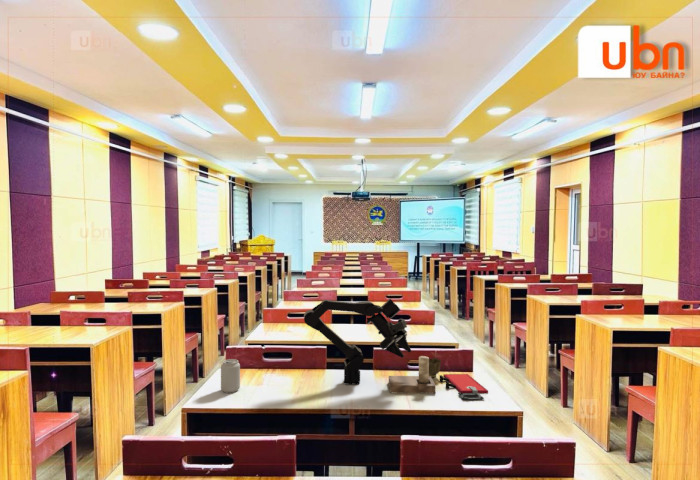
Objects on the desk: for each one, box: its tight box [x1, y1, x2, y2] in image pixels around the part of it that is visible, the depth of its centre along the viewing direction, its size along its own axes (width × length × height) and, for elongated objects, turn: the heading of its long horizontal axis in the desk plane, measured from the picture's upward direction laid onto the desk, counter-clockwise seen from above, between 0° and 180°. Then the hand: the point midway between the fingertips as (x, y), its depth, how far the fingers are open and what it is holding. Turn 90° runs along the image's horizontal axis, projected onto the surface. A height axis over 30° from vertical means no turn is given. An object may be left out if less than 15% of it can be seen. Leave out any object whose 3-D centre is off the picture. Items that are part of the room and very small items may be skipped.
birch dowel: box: [418, 355, 430, 384], centre depth 182 cm, size 4×4×13 cm
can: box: [220, 358, 241, 394], centre depth 179 cm, size 8×8×12 cm
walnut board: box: [388, 375, 436, 394], centre depth 184 cm, size 18×12×3 cm, turn 89°
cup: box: [429, 357, 442, 379], centre depth 197 cm, size 8×7×8 cm
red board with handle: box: [439, 373, 489, 400], centre depth 185 cm, size 30×3×15 cm
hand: (406, 354), depth 185 cm, fingers open, 9 cm apart
